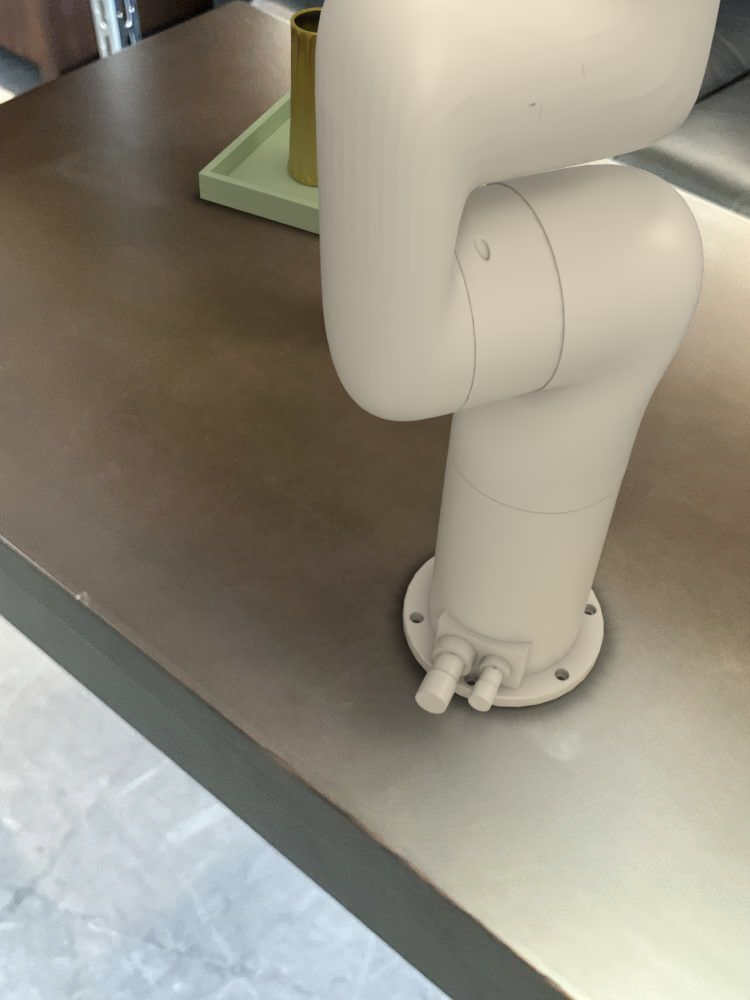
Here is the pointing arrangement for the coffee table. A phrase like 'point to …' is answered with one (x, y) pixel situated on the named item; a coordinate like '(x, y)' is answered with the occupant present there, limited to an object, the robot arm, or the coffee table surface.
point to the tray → (262, 174)
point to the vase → (303, 97)
